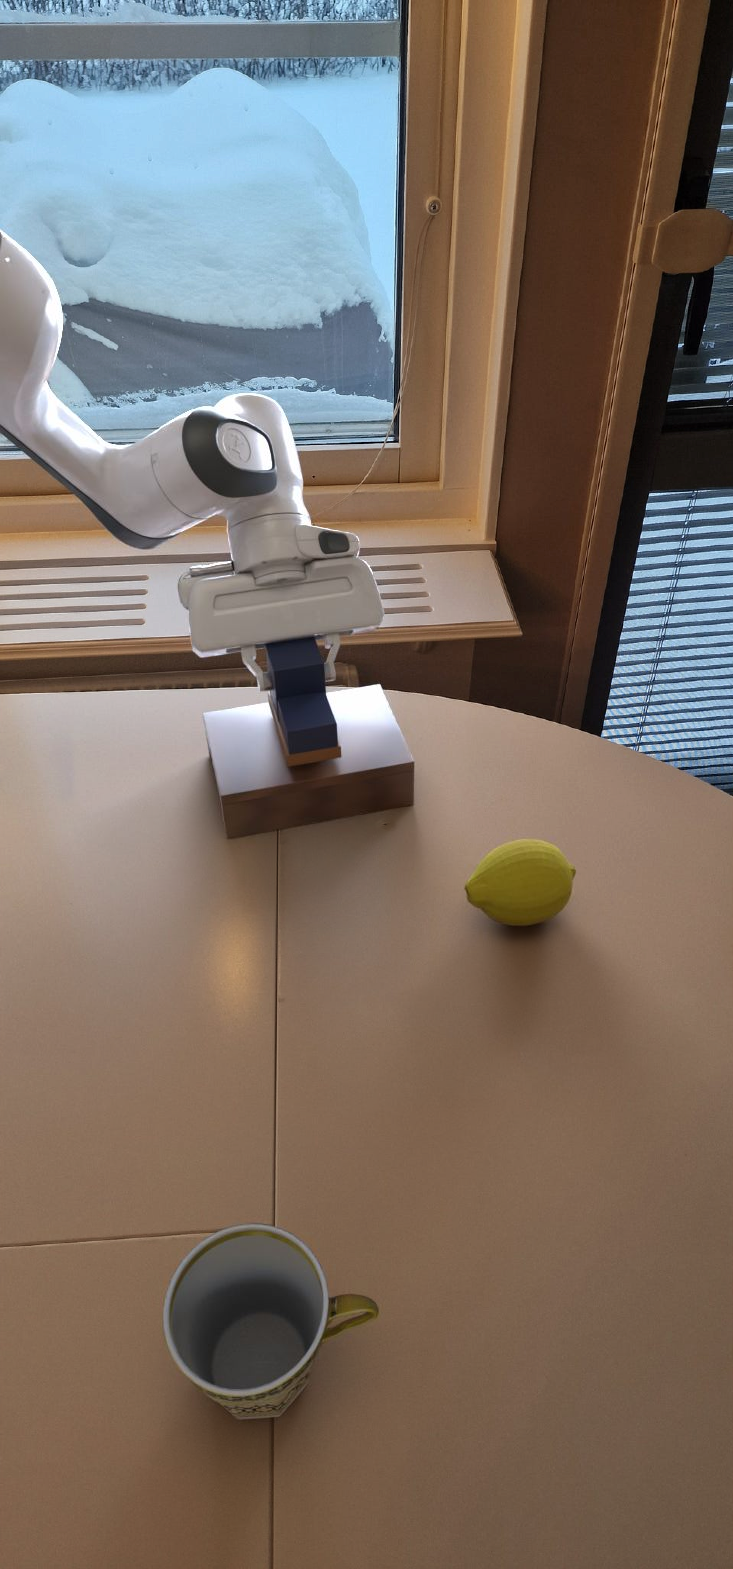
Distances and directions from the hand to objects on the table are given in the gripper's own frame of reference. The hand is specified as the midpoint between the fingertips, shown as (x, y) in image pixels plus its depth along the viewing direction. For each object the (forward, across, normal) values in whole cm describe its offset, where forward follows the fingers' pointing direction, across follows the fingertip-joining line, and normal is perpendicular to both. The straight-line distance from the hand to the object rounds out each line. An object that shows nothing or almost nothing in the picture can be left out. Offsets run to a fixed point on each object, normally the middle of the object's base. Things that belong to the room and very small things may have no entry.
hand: (298, 685), depth 107 cm
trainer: (+4, 0, +2) cm, 5 cm away
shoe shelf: (+9, 0, +7) cm, 11 cm away
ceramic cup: (+50, -14, -34) cm, 62 cm away
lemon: (+26, +15, -10) cm, 32 cm away
